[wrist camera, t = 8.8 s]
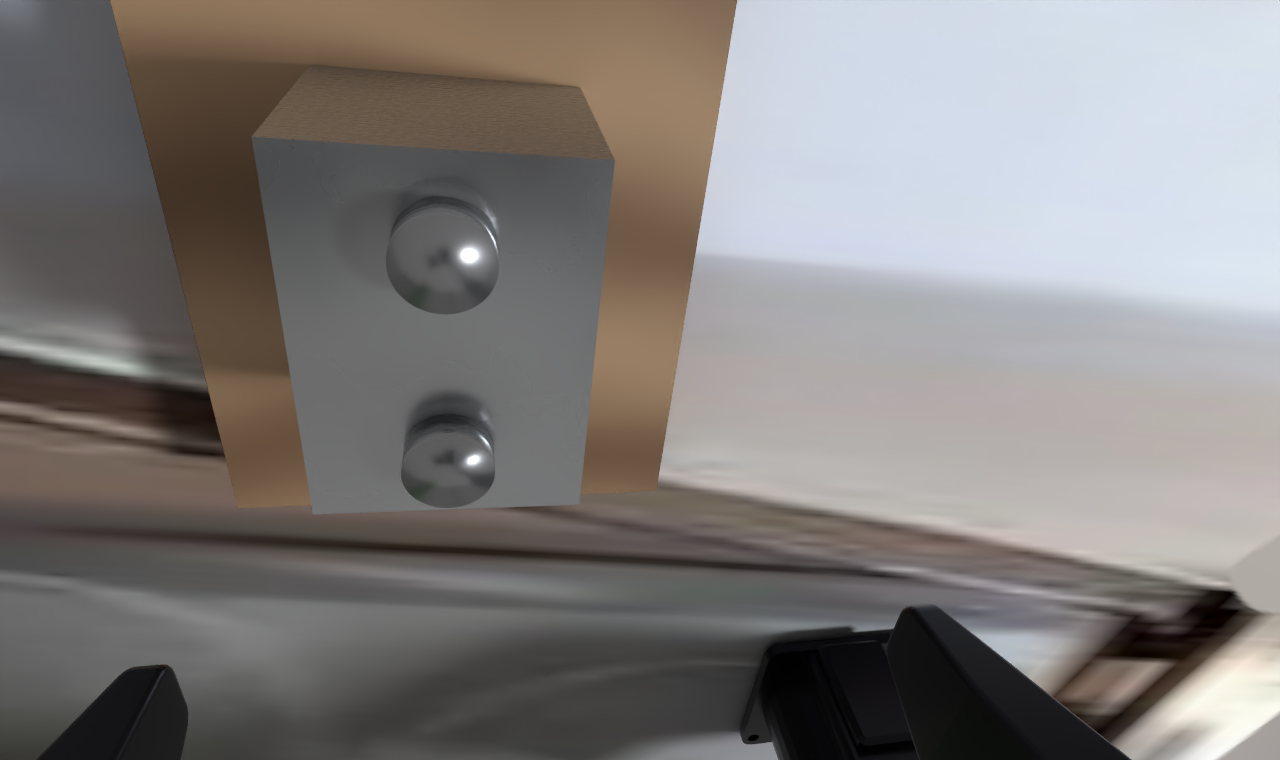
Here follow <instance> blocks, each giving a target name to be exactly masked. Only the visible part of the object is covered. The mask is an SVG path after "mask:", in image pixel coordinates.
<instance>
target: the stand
mask: <svg viewBox="0 0 1280 760" xmlns="http://www.w3.org/2000/svg"><path fill="white" fill-rule="evenodd" d="M110 2H111V6H112V10H113V14H114V18H115V22H116V26H117V30H118V34H119V38H120V42H121V46H122V50H123V53H124V57H125V61H126V65H127V69H128V73H129V77H130V81H131V85H132V89H133V93H134V97H135V101H136V105H137V109H138V113H139V117H140V121H141V125H142V129H143V133H144V137H145V141H146V145H147V149H148V153H149V157H150V161H151V165H152V169H153V173H154V176H155V180H156V184H157V188H158V192H159V196H160V200H161V204H162V208H163V212H164V216H165V220H166V224H167V228H168V232H169V236H170V240H171V244H172V248H173V252H174V256H175V260H176V264H177V268H178V272H179V276H180V280H181V284H182V288H183V292H184V296H185V300H186V303H187V307H188V311H189V315H190V319H191V323H192V327H193V331H194V335H195V339H196V343H197V347H198V351H199V355H200V359H201V363H202V367H203V371H204V375H205V379H206V383H207V387H208V391H209V395H210V399H211V403H212V407H213V411H214V415H215V419H216V423H217V426H218V430H219V434H220V438H221V442H222V446H223V450H224V454H225V458H226V462H227V466H228V470H229V474H230V478H231V482H232V486H233V490H234V494H235V498H236V502H237V506H238V508H252V507H276V506H301V505H311V499H310V493H309V487H308V481H307V475H306V469H305V462H304V456H303V450H302V444H301V438H300V432H299V426H298V420H297V413H296V407H295V401H294V395H293V389H292V383H291V377H290V370H289V364H288V358H287V352H286V346H285V340H284V334H283V327H282V321H281V315H280V309H279V303H278V297H277V291H276V285H275V278H274V272H273V266H272V260H271V254H270V248H269V242H268V235H267V229H266V223H265V217H264V211H263V205H262V199H261V192H260V186H259V180H258V174H257V168H256V162H255V156H254V150H253V143H252V135H253V134H254V133H255V132H256V131H257V129H258V128H259V127H260V126H261V124H262V123H263V122H264V121H265V119H266V118H267V117H268V116H269V115H270V113H271V112H272V111H273V110H274V108H275V107H276V106H277V105H278V103H279V102H280V101H281V100H282V99H283V97H284V96H285V95H286V94H287V92H288V91H289V90H290V89H291V87H292V86H293V85H294V84H295V83H296V81H297V80H298V79H299V78H300V76H301V75H302V74H303V73H304V71H305V70H306V69H307V68H308V67H309V65H310V64H314V65H326V66H338V67H349V68H361V69H373V70H385V71H396V72H408V73H420V74H432V75H443V76H455V77H467V78H479V79H490V80H502V81H514V82H526V83H537V84H549V85H561V86H573V87H581V90H582V92H583V94H584V96H585V98H586V100H587V102H588V104H589V106H590V109H591V111H592V113H593V115H594V117H595V119H596V121H597V123H598V125H599V128H600V130H601V132H602V134H603V136H604V138H605V140H606V142H607V144H608V147H609V149H610V151H611V153H612V155H613V157H614V159H615V165H614V175H613V184H612V194H611V203H610V213H609V223H608V232H607V242H606V252H605V261H604V271H603V280H602V290H601V300H600V309H599V319H598V329H597V338H596V348H595V357H594V367H593V377H592V386H591V396H590V406H589V415H588V425H587V434H586V444H585V454H584V463H583V473H582V483H581V492H580V494H590V493H614V492H638V491H656V489H657V482H658V476H659V470H660V464H661V458H662V452H663V446H664V440H665V434H666V428H667V422H668V416H669V410H670V404H671V398H672V392H673V385H674V379H675V373H676V367H677V361H678V355H679V349H680V343H681V337H682V331H683V325H684V319H685V313H686V307H687V301H688V295H689V289H690V282H691V276H692V270H693V264H694V258H695V252H696V246H697V240H698V234H699V228H700V222H701V216H702V210H703V204H704V198H705V192H706V185H707V179H708V173H709V167H710V161H711V155H712V149H713V143H714V137H715V131H716V125H717V119H718V113H719V107H720V101H721V95H722V88H723V82H724V76H725V70H726V64H727V58H728V52H729V46H730V40H731V34H732V28H733V22H734V16H735V10H736V4H737V0H110Z"/></svg>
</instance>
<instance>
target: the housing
mask: <svg viewBox="0 0 1280 760" xmlns="http://www.w3.org/2000/svg"><path fill="white" fill-rule="evenodd" d="M252 143H253V150H254V156H255V162H256V168H257V174H258V180H259V186H260V192H261V199H262V205H263V211H264V217H265V223H266V229H267V235H268V242H269V248H270V254H271V260H272V266H273V272H274V278H275V285H276V291H277V297H278V303H279V309H280V315H281V321H282V327H283V334H284V340H285V346H286V352H287V358H288V364H289V370H290V377H291V383H292V389H293V395H294V401H295V407H296V413H297V420H298V426H299V432H300V438H301V444H302V450H303V456H304V462H305V469H306V475H307V481H308V487H309V493H310V499H311V505H312V512H313V514H336V513H363V512H390V511H417V510H444V509H471V508H498V507H525V506H552V505H579V502H580V492H581V483H582V473H583V463H584V454H585V444H586V434H587V425H588V415H589V406H590V396H591V386H592V377H593V367H594V357H595V348H596V338H597V329H598V319H599V309H600V300H601V290H602V280H603V271H604V261H605V252H606V242H607V232H608V223H609V213H610V203H611V194H612V184H613V175H614V165H615V159H614V157H613V155H612V153H611V151H610V149H609V147H608V144H607V142H606V140H605V138H604V136H603V134H602V132H601V130H600V128H599V125H598V123H597V121H596V119H595V117H594V115H593V113H592V111H591V109H590V106H589V104H588V102H587V100H586V98H585V96H584V94H583V92H582V90H581V87H573V86H561V85H549V84H537V83H526V82H514V81H502V80H490V79H479V78H467V77H455V76H443V75H432V74H420V73H408V72H396V71H385V70H373V69H361V68H349V67H338V66H326V65H314V64H310V65H309V67H308V68H307V69H306V70H305V71H304V73H303V74H302V75H301V76H300V78H299V79H298V80H297V81H296V83H295V84H294V85H293V86H292V87H291V89H290V90H289V91H288V92H287V94H286V95H285V96H284V97H283V99H282V100H281V101H280V102H279V103H278V105H277V106H276V107H275V108H274V110H273V111H272V112H271V113H270V115H269V116H268V117H267V118H266V119H265V121H264V122H263V123H262V124H261V126H260V127H259V128H258V129H257V131H256V132H255V133H254V134H253V135H252Z"/></svg>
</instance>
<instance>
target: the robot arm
mask: <svg viewBox="0 0 1280 760" xmlns="http://www.w3.org/2000/svg"><path fill="white" fill-rule="evenodd" d="M187 726H188V708H187V704H186V702H185V699H184V697H183V694H182V691H181V689H180V686H179V683H178V681H177V678H176V675H175V673H174V671H173V669H172V668H171V667H170V666H168V665H151V666H138V667H133V668H130V669H128V670H126V671H124V672H123V673H122V674H121V675H119V676H118V677H117V678H116V679H115V680H114V681H113V682H112V683H111V684H110V686H109V687H108V688H107V689H106V690H105V691H104V692H103V693H102V694H101V695H100V696H99V697H98V698H97V699H96V700H95V701H94V702H93V703H92V704H91V705H90V706H89V707H88V708H87V709H86V710H85V711H84V712H83V713H82V714H81V715H80V716H79V717H78V718H77V719H76V720H75V721H74V722H73V723H72V724H71V725H70V726H69V727H68V728H67V729H66V730H65V731H64V732H63V733H62V734H61V735H60V736H59V737H58V738H57V739H56V740H55V741H54V742H53V743H52V744H51V745H50V746H49V747H48V748H47V749H46V750H45V751H44V752H43V753H42V754H41V755H40V756H39V757H38V758H37V760H181V756H182V751H183V746H184V741H185V737H186V732H187ZM740 735H741V738H742V741H743V743H745V744H758V743H766V742H773V745H774V748H775V751H776V754H777V757H778V760H1131V759H1130V758H1129V757H1128V756H1126V755H1125V754H1124V753H1123V752H1121V751H1120V750H1119V749H1117V748H1116V747H1115V746H1114V745H1112V744H1111V743H1110V742H1109V741H1107V740H1106V739H1105V738H1104V737H1102V736H1101V735H1100V734H1099V733H1097V732H1096V731H1095V730H1094V729H1092V728H1091V727H1090V726H1088V725H1087V724H1086V723H1085V722H1083V721H1082V720H1081V719H1080V718H1078V717H1077V716H1076V715H1075V714H1073V713H1072V712H1071V711H1070V710H1068V709H1067V708H1066V707H1065V706H1063V705H1062V704H1061V703H1059V702H1058V701H1057V700H1056V699H1054V698H1053V697H1052V696H1051V695H1049V694H1048V693H1047V692H1046V691H1044V690H1043V689H1042V688H1041V687H1039V686H1038V685H1037V684H1036V683H1034V682H1033V681H1032V680H1030V679H1029V678H1028V677H1027V676H1025V675H1024V674H1023V673H1022V672H1020V671H1019V670H1018V669H1017V668H1015V667H1014V666H1013V665H1012V664H1010V663H1009V662H1008V661H1006V660H1005V659H1004V658H1003V657H1001V656H1000V655H999V654H998V653H996V652H995V651H994V650H993V649H991V648H990V647H989V646H988V645H986V644H985V643H984V642H983V641H981V640H980V639H979V638H977V637H976V636H975V635H974V634H972V633H971V632H970V631H969V630H967V629H966V628H965V627H964V626H962V625H961V624H960V623H959V622H957V621H956V620H955V619H954V618H952V617H951V616H950V615H948V614H947V613H946V612H945V611H943V610H942V609H941V608H939V607H937V606H935V605H932V604H923V605H910V606H907V607H905V608H904V609H903V610H902V612H901V614H900V616H899V618H898V620H897V623H896V625H895V627H894V629H893V632H892V634H887V635H876V636H865V637H853V638H842V639H831V640H820V641H809V642H797V643H786V644H778V645H774V646H772V647H770V648H769V649H768V650H767V651H766V652H765V655H764V658H763V661H762V664H761V667H760V670H759V674H758V677H757V680H756V683H755V686H754V689H753V692H752V695H751V698H750V701H749V704H748V707H747V711H746V714H745V717H744V720H743V723H742V726H741V729H740Z"/></svg>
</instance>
